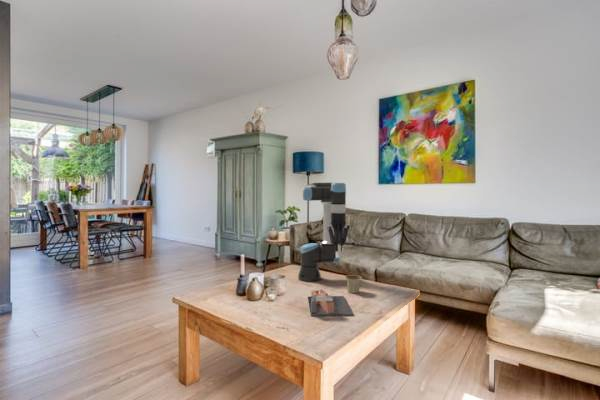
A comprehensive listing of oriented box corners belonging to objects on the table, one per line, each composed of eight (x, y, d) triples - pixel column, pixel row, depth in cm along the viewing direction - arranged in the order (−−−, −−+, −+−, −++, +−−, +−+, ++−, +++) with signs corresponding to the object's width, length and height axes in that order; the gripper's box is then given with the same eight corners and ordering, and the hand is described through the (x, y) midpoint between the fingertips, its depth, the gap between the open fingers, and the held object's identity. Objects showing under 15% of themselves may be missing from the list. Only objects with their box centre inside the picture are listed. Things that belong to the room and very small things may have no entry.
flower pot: (360, 289, 186) (360, 275, 185) (362, 294, 176) (362, 279, 176) (345, 289, 187) (345, 274, 186) (345, 294, 177) (345, 279, 177)
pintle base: (307, 298, 171) (307, 283, 170) (343, 297, 171) (343, 283, 171) (310, 316, 147) (310, 298, 146) (352, 315, 147) (352, 298, 147)
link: (311, 300, 165) (311, 290, 165) (323, 298, 167) (323, 289, 167) (324, 313, 147) (324, 303, 147) (337, 312, 149) (337, 302, 148)
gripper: (345, 211, 168) (344, 254, 168) (323, 212, 162) (323, 257, 163) (352, 212, 161) (352, 257, 161) (331, 213, 155) (330, 260, 156)
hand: (338, 257), depth 162 cm, fingers closed
